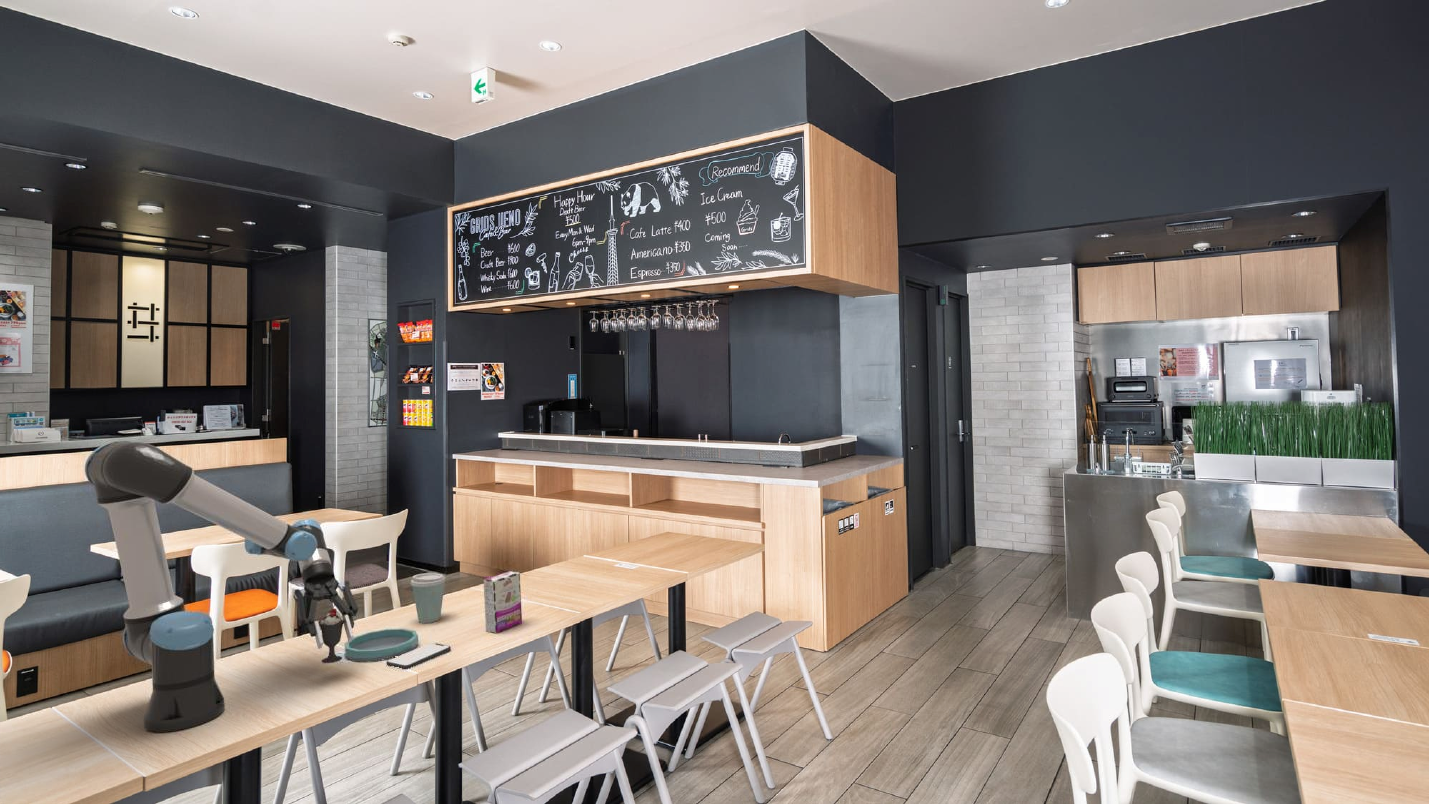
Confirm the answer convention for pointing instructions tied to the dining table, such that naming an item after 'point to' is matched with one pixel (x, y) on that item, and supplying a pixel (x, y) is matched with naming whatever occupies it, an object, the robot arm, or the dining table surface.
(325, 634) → the sundae
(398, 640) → the round tray
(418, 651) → the smartphone
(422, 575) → the disposable coffee cup
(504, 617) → the candy bar box
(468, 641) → the dining table surface
